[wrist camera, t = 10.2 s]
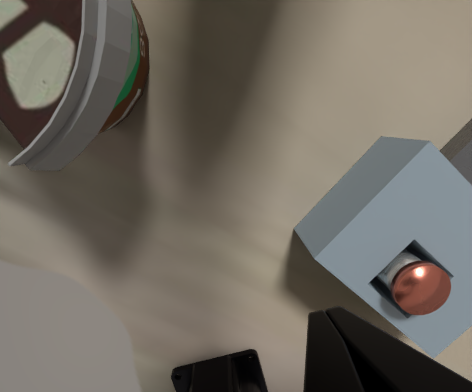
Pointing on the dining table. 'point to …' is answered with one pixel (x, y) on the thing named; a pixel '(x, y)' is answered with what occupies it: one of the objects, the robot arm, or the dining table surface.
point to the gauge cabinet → (399, 233)
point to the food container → (68, 74)
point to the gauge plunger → (415, 283)
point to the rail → (461, 151)
